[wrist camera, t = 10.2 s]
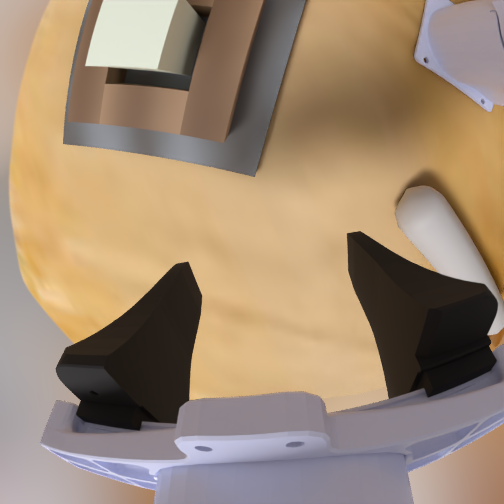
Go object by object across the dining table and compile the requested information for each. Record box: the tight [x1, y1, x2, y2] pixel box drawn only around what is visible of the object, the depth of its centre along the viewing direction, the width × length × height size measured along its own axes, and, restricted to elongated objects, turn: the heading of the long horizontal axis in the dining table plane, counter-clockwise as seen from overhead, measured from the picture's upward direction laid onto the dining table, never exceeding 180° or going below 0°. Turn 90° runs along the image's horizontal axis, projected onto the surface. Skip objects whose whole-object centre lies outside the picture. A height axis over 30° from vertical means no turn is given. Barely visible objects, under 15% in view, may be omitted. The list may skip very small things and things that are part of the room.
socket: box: [63, 0, 306, 177], centre depth 14 cm, size 16×16×4 cm
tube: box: [395, 185, 504, 335], centre depth 23 cm, size 5×5×25 cm
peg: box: [85, 0, 206, 76], centre depth 12 cm, size 4×4×7 cm
